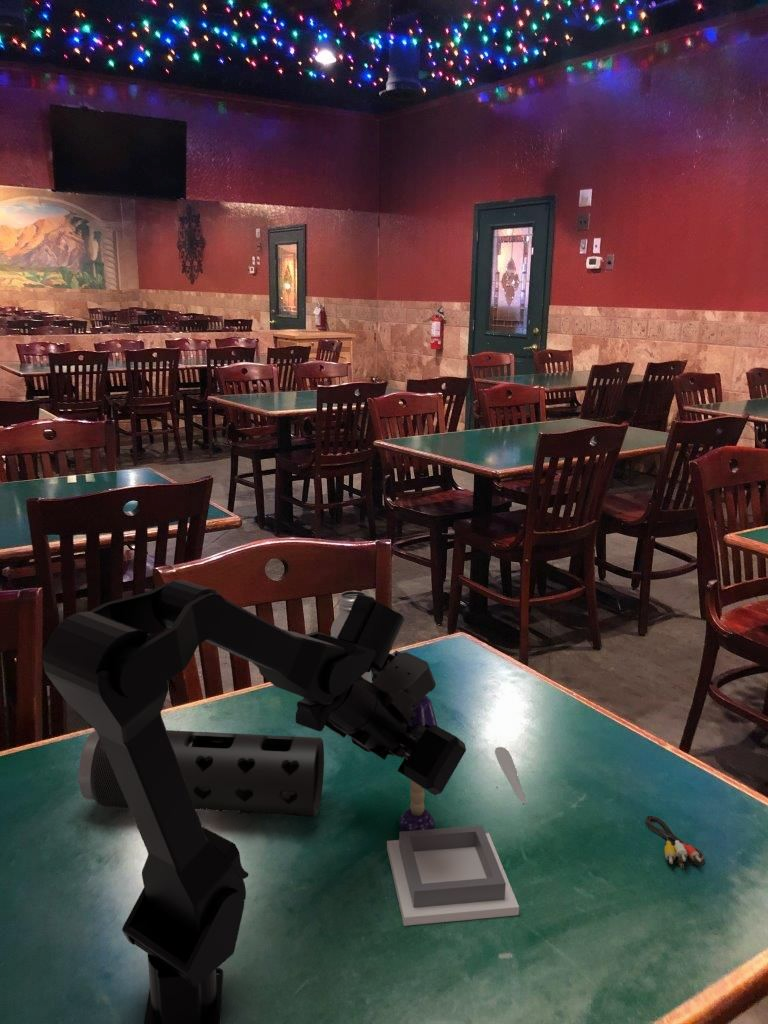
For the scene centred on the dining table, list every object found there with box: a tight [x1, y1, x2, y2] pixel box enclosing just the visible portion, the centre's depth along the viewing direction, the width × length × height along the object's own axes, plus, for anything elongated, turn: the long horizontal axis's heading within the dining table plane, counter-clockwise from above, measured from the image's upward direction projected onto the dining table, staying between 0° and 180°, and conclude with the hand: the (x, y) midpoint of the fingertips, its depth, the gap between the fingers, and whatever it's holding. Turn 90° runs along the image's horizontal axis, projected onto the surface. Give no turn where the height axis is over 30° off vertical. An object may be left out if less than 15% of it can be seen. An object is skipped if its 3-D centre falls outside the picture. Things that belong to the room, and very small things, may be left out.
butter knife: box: [494, 746, 527, 805], centre depth 103 cm, size 1×27×3 cm
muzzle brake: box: [78, 729, 325, 818], centre depth 100 cm, size 10×28×10 cm, turn 86°
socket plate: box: [386, 825, 520, 927], centre depth 90 cm, size 12×12×3 cm
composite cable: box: [644, 815, 706, 870], centre depth 96 cm, size 10×5×2 cm, turn 1°
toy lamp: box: [398, 694, 438, 832], centre depth 97 cm, size 5×5×17 cm
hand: (425, 760), depth 98 cm, fingers closed on toy lamp, 4 cm apart
